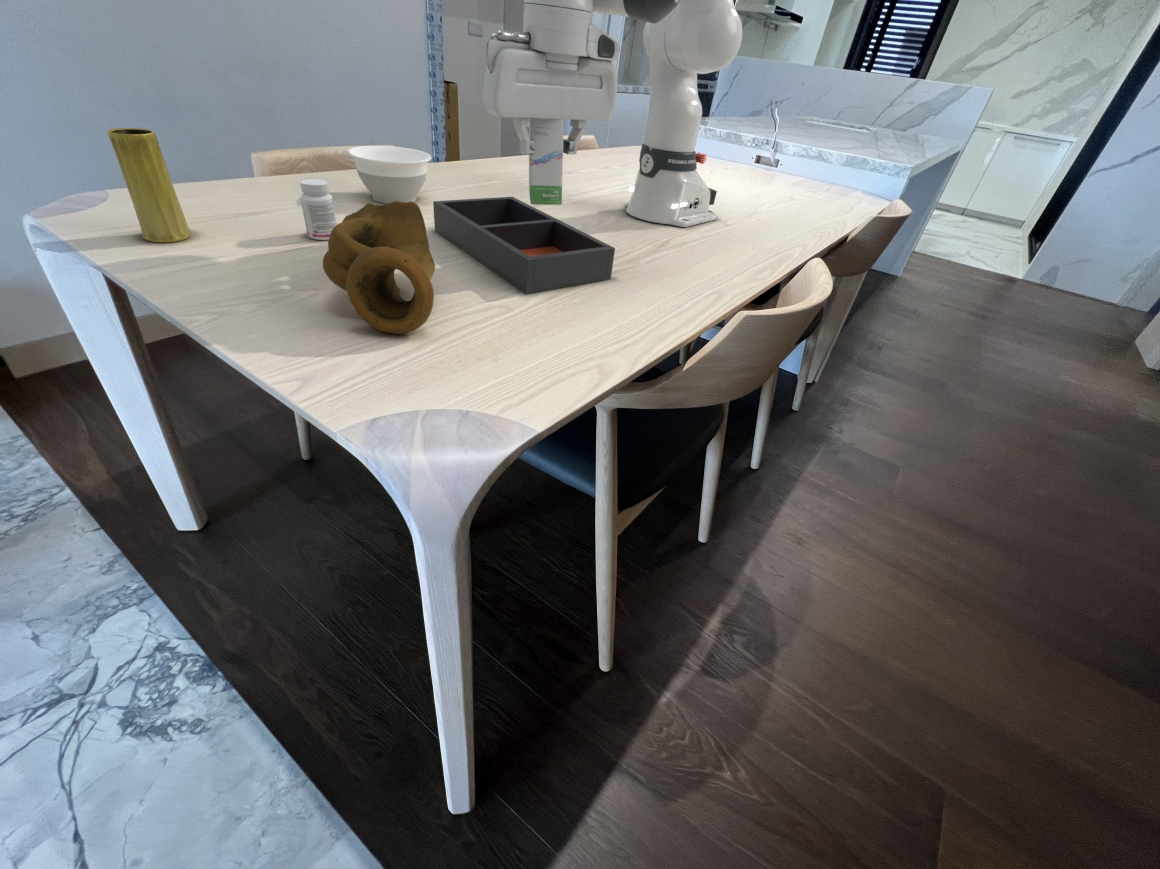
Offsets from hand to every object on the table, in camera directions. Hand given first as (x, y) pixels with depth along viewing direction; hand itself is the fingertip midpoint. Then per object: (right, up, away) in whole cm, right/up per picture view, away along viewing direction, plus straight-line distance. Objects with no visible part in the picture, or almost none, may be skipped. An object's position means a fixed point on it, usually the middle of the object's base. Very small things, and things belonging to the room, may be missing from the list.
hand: (548, 154), depth 78 cm
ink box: (-1, -5, +6) cm, 7 cm away
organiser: (-6, -10, +15) cm, 19 cm away
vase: (-59, -11, +4) cm, 60 cm away
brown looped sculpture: (-23, -22, -5) cm, 32 cm away
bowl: (-35, +8, +34) cm, 49 cm away
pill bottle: (-39, -8, +11) cm, 41 cm away
